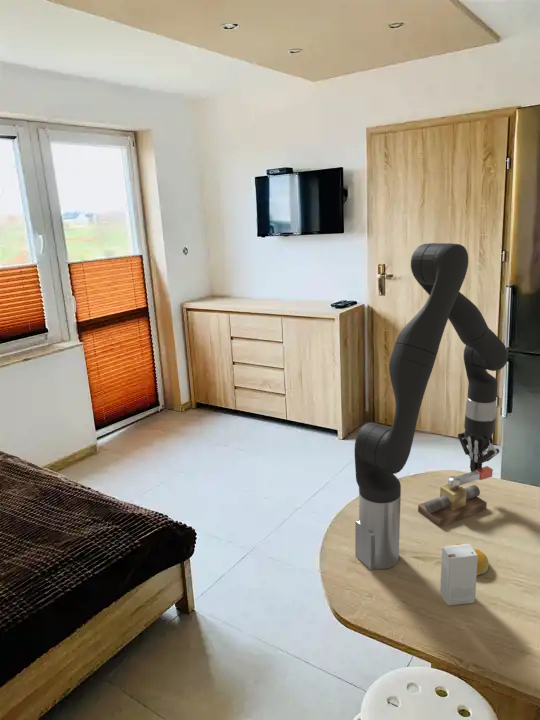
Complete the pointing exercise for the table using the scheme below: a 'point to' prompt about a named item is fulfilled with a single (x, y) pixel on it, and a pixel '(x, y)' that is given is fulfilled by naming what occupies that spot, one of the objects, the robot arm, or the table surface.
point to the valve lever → (469, 477)
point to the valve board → (453, 514)
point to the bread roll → (481, 562)
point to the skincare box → (458, 574)
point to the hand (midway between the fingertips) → (475, 472)
